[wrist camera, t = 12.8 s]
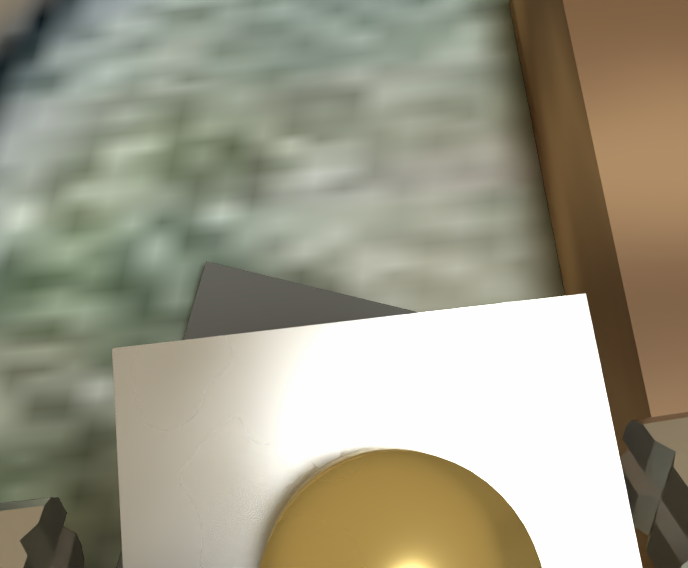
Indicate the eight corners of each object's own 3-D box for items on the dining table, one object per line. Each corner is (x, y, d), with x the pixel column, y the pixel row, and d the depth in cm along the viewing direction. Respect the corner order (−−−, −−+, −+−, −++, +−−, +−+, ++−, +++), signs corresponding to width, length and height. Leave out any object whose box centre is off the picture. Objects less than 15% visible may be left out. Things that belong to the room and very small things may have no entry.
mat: (487, 735, 14) (492, 744, 14) (99, 641, 14) (92, 647, 14) (550, 347, 16) (556, 345, 16) (208, 265, 16) (206, 261, 16)
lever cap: (465, 583, 15) (772, 908, 5) (246, 614, 14) (102, 1038, 4) (432, 365, 16) (632, 272, 6) (227, 390, 15) (76, 334, 5)
